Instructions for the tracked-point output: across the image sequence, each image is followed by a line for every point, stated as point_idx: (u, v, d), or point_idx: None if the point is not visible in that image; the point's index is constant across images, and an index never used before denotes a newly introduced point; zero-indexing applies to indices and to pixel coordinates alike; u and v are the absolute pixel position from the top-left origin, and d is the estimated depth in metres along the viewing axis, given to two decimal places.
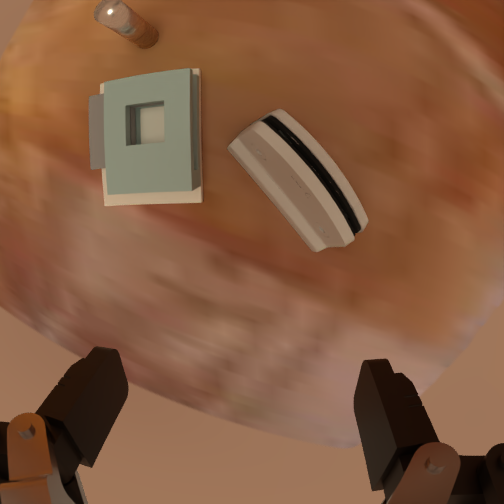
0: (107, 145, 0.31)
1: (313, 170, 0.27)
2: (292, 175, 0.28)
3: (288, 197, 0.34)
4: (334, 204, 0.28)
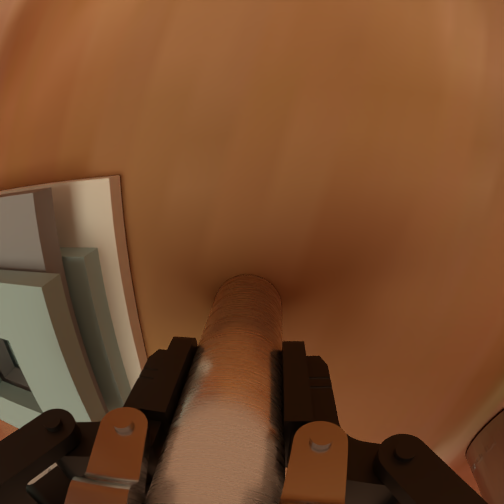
0: None
1: None
2: None
3: None
4: None
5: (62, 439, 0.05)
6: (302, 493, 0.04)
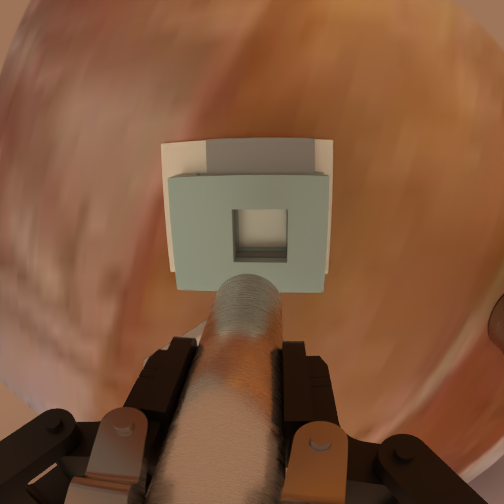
0: (234, 180, 0.25)
1: None
2: None
3: None
4: None
5: (62, 439, 0.05)
6: (302, 493, 0.04)
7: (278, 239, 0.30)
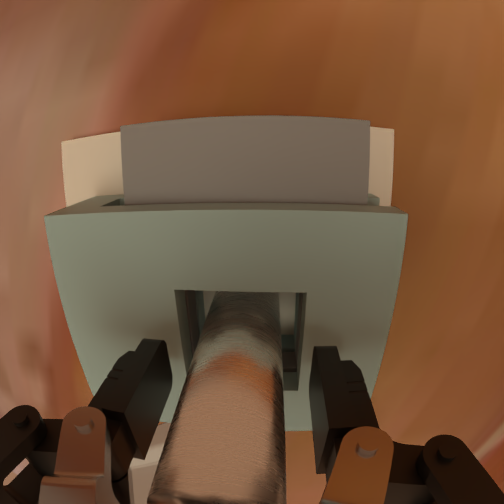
0: (176, 223, 0.10)
1: None
2: None
3: (146, 465, 0.20)
4: None
5: (27, 434, 0.05)
6: (343, 497, 0.04)
7: None
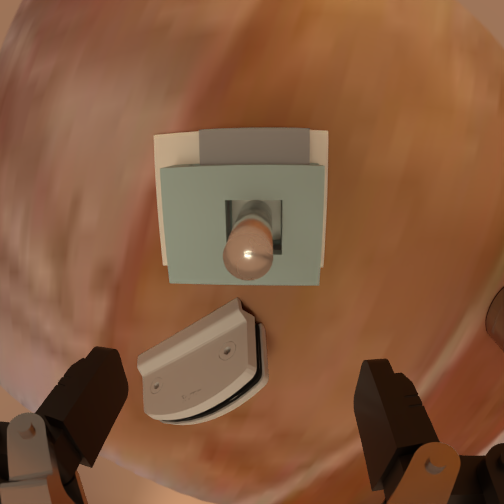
0: (228, 170, 0.24)
1: (205, 409, 0.29)
2: (201, 392, 0.29)
3: (184, 355, 0.34)
4: (177, 418, 0.29)
5: None
6: None
7: (273, 231, 0.30)
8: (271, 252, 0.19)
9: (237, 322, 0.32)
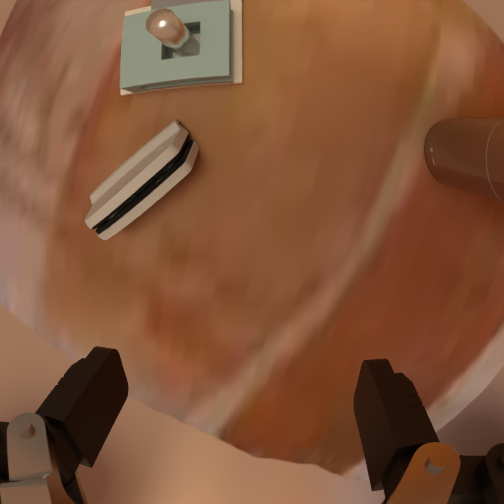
0: None
1: (133, 196, 0.32)
2: (131, 178, 0.32)
3: (127, 172, 0.37)
4: (108, 212, 0.33)
5: None
6: None
7: None
8: (174, 16, 0.22)
9: (172, 132, 0.36)
